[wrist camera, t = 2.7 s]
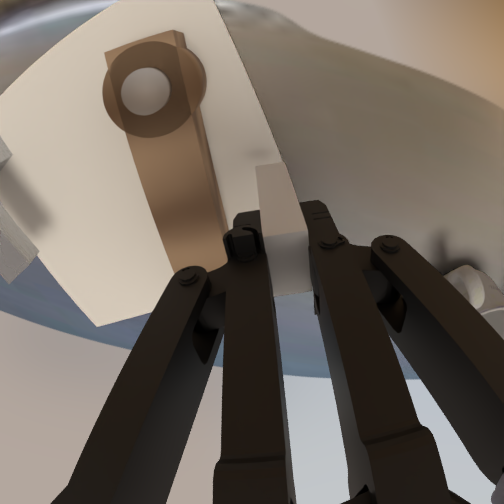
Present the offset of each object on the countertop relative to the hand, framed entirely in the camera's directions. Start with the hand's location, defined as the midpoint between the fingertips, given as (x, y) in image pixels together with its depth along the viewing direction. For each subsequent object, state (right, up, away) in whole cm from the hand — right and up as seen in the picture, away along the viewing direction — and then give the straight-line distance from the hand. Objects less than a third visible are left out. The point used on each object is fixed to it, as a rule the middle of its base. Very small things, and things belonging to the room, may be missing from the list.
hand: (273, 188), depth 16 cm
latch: (-5, +1, +5) cm, 8 cm away
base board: (-11, +2, +6) cm, 13 cm away
